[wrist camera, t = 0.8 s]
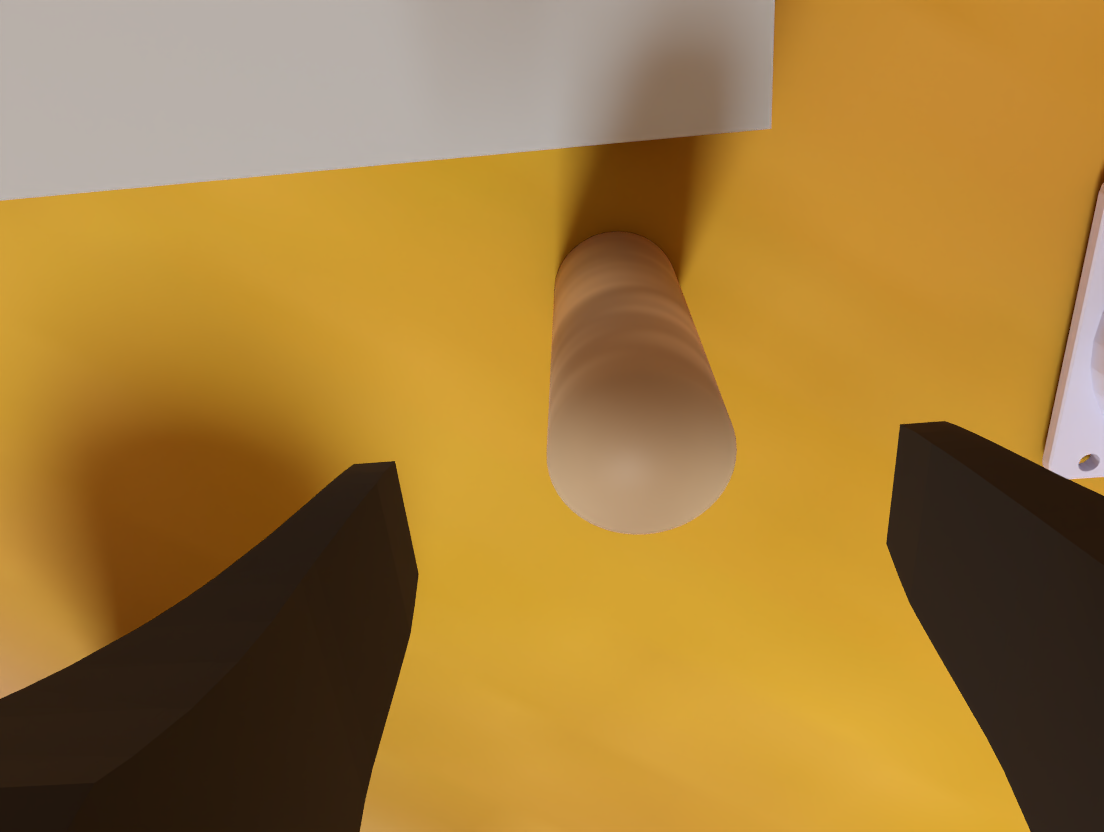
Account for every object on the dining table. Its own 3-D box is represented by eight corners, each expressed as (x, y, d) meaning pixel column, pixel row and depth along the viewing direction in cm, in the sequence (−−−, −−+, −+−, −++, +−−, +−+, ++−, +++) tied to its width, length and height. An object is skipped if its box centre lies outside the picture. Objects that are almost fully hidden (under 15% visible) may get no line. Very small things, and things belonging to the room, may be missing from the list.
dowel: (675, 226, 19) (738, 363, 12) (678, 343, 21) (735, 528, 14) (549, 236, 20) (538, 378, 12) (559, 353, 21) (555, 540, 14)
